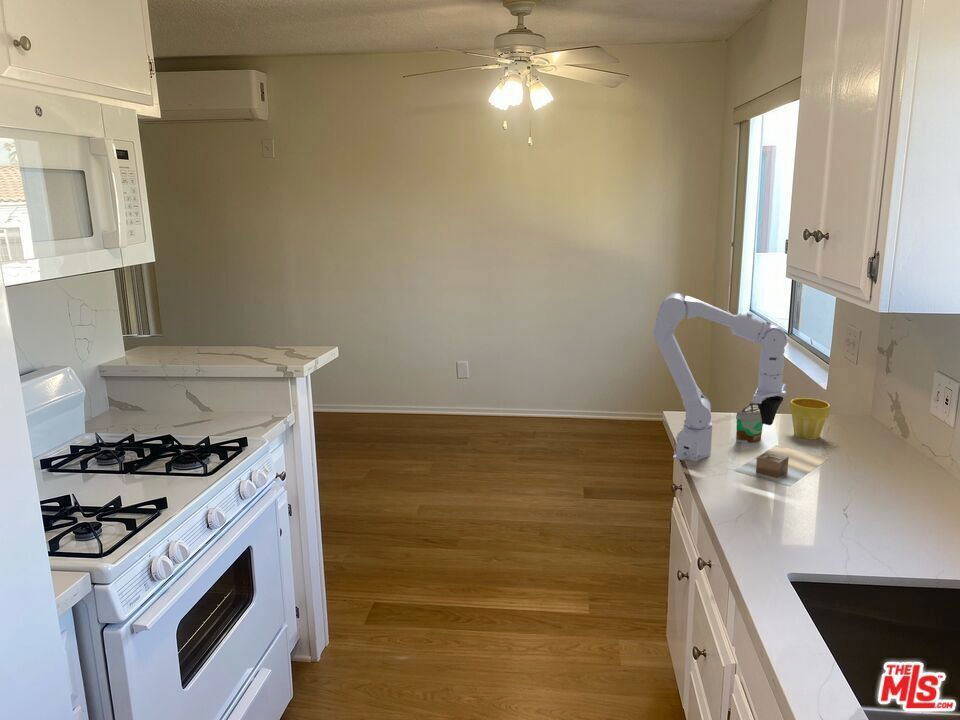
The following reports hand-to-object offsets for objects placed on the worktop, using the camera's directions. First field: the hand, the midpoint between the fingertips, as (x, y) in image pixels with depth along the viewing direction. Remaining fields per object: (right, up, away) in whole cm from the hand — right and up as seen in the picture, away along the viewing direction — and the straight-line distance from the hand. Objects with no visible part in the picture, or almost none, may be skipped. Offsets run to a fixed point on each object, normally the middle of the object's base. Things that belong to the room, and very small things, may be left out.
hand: (767, 423), depth 185 cm
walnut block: (-2, -11, -7) cm, 13 cm away
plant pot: (+20, -5, +21) cm, 29 cm away
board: (+3, -11, -2) cm, 12 cm away
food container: (+3, -7, +17) cm, 18 cm away
